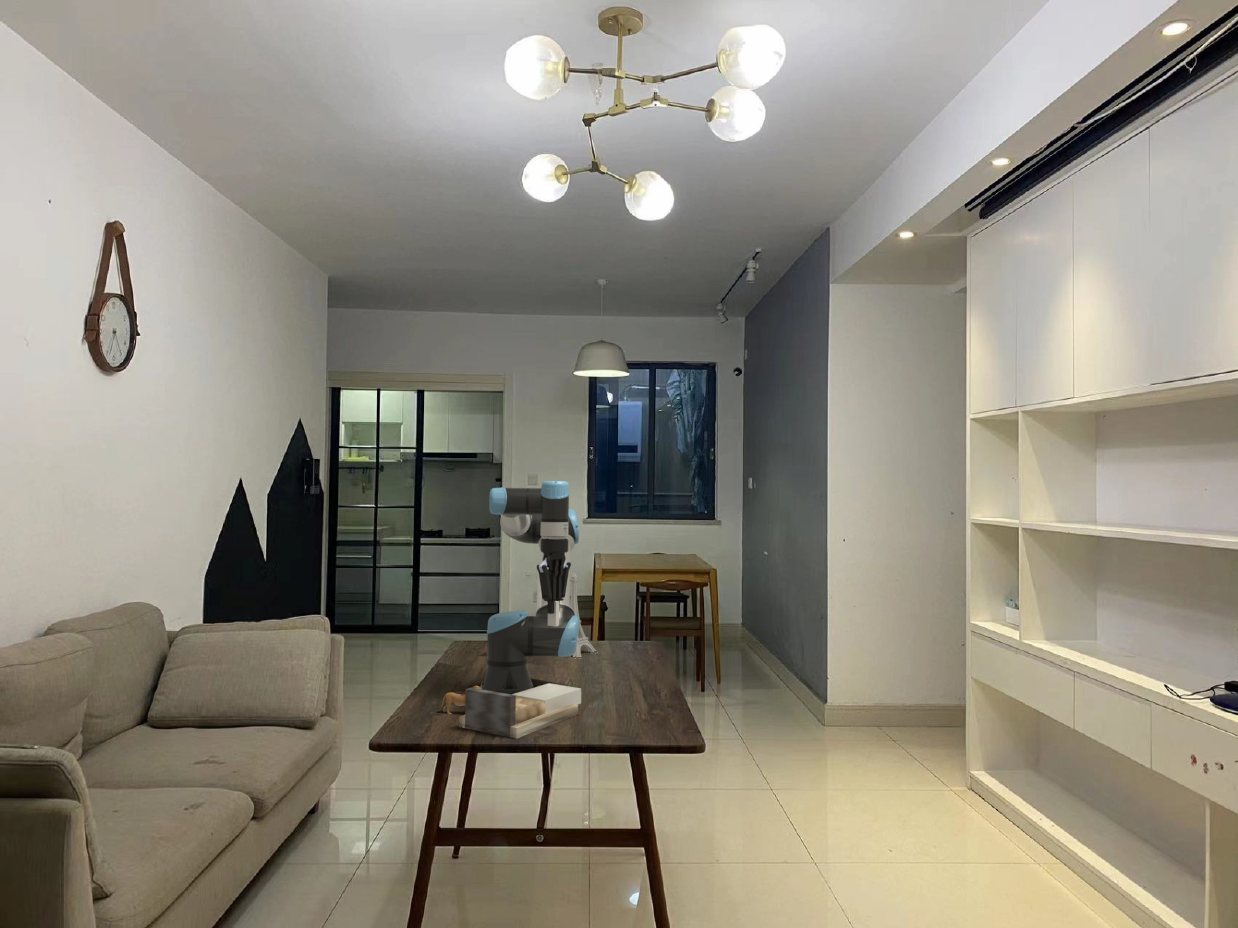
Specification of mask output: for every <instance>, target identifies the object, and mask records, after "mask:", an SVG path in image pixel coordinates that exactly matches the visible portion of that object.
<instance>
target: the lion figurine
mask: <svg viewBox="0 0 1238 928" xmlns="http://www.w3.org/2000/svg"><path fill="white" fill-rule="evenodd" d="M480 687H481V686H478V685H474V686H472V687H471V688H475V689H481V690H482V688H480ZM465 693H466V690H465V691H464V692H462V693H461V694H459V693H455V692H447V693H446V694H445V695H444V696H443V699H442V702H441V705H440V708H439V709H437V710H436V713H440V712H441V710H442V712H443V713H445V712H447V715H449V714H450V715H453V714H452V712H450V707H451V706H452V703H453V704H454V705H456V706H458V707H459V706H460V707H462V706H464V707H465Z"/></svg>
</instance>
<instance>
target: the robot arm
mask: <svg viewBox="0 0 1238 928" xmlns="http://www.w3.org/2000/svg"><path fill="white" fill-rule="evenodd" d="M569 484H570V483H569V482H568V481H564V480H544V481H543V482H542V483H541V487H539V488H537V487H528V488H526V487H525V488H524V487H505V486H504V487H503V486H501V487H493V488H491V489H490V490H489V491H490V492H489V504H488V505H489V507H488V508H489V512H490V514H492V515H498V516H500V520H499V521H500V522H499V524H500V527H501V530H502V531H503V533H504V534H505V535H506V536H507V537H509V538H510V539H513V540H515V541H518V542H520V543H525V544H534V545H536V544H537V545H538V547H539V549H540V552H541V553H542V562H541V563H540V564H537V565H536V570H538V572H539V578H540V586H541V593H542V599H541V607H540V608H539V609H538V610H537V609H536V613H535V615H529V613H528V611H527V610H510V611H505V612H504V611H503V612H499V613H496V614H494V615H491V616H490V617H489V618H488V620H487V621H488V622H487V631H486V634H487V641H486V642H487V644H486V647H487V648H486V653H487V654H486V667H485V671H484V673H483V674H484V675H483V678H482V682H481V684H480V686H479V687H480V688H482V690H487V691H493V692H499V693H505V694H511V695H512V694H515V693H519V692H522V691H525V690H528V689H532V688H534V685H533V682H532V679H531V674H530V671H529V667H528V658H529V657H532V658H533V657H534V658H535V657H537V658H538V657H544V658H545V657H552V658H553V657H554V658H555V657H558V658H563V657H571V656H572V657H573V654H574V653H575V652H576V648H577V642H578V636H579V635H578V633H579V623H580V624H581V622H580V620H581V619H580V618H581V617H580V615H579V616H576V615H575V612H574V610H573V609H572V608H571V607H570V598H571V588H570V587H571V581H570V580H571V572H570V571H571V570H570V569H571V566H572V563H571V561H570V560H571V559H570V558H571V551H573V549H574V548H575V545H577V544H579V541H580V537H579V536H580V531H579V521H578V516H577V512H576V510H574V509H573V508H570V488H569V487H570V485H569Z"/></svg>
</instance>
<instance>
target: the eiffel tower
mask: <svg viewBox="0 0 1238 928" xmlns="http://www.w3.org/2000/svg"><path fill="white" fill-rule="evenodd" d="M578 581H579V579H578V576H577V574H576V571H572V575H570V587H571V588H570V607H571V608H572V609H573V610H574V612H575V615H576V616H579V617H580V614H579V606H578V589H577V588H578V587H577V585H578V584H577V582H578ZM581 623H582V620H581V619H580V623H579V633H578V642H577V648H576V652H575V653H574V654H573V655H572V658H573V657H575V656H576V657H582V654H581V653H582V652H581V649H582V648H581V647H582V646H583V647H585V648H586V649H587V650H588V652H589V651H590V652H594V651H597V650H596V648H594V646H593V645H592V644H591V642H590V641H589V637H588V636H586V634H585V633H584V630H583V627H582V625H581Z"/></svg>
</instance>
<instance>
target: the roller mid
mask: <svg viewBox="0 0 1238 928" xmlns="http://www.w3.org/2000/svg"><path fill="white" fill-rule="evenodd" d="M516 708H517V709H523V710H526V712H527V720H530V719H532V718H535V717H537V708H536V707H535V706H530V705H524V704H519V703H516Z"/></svg>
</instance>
